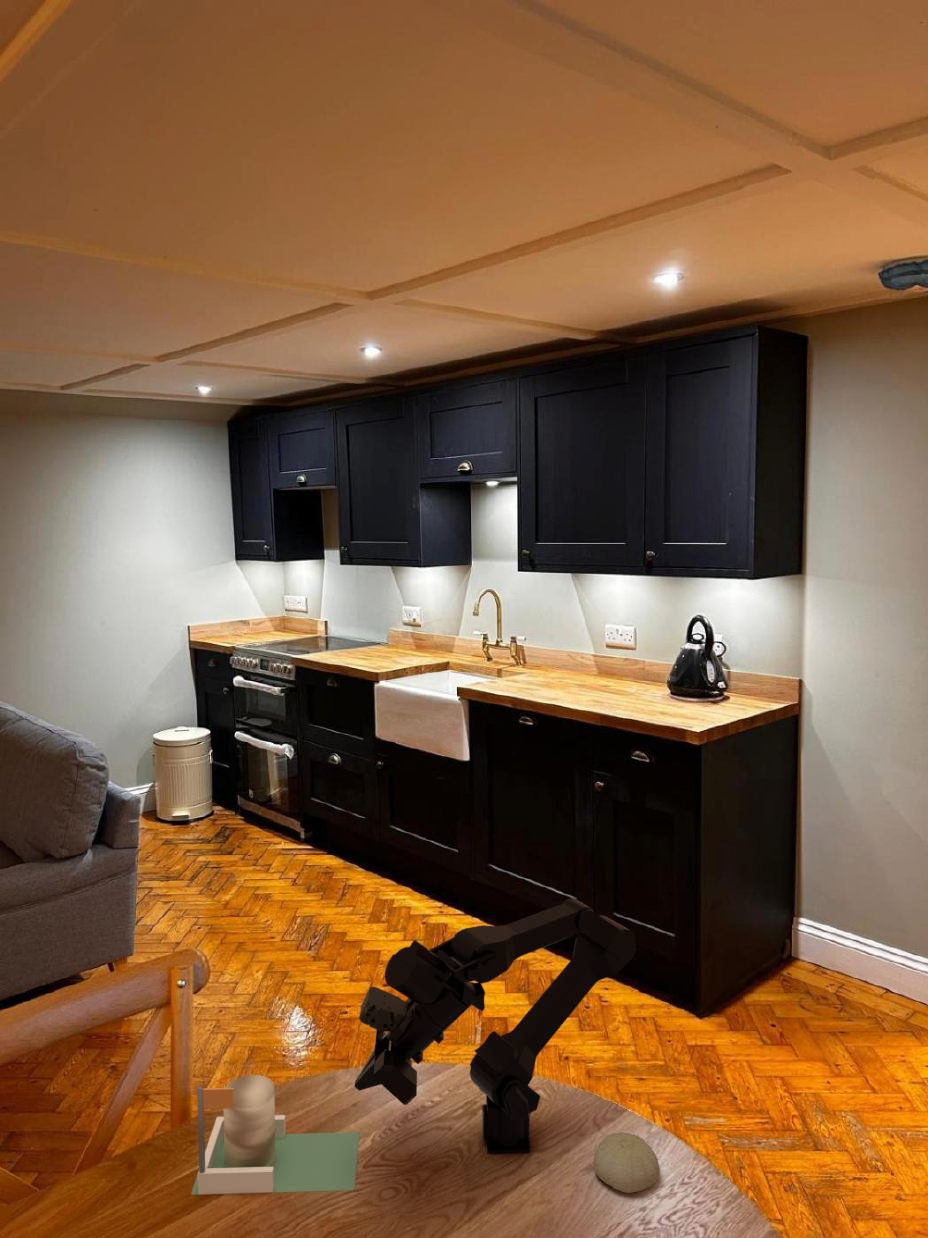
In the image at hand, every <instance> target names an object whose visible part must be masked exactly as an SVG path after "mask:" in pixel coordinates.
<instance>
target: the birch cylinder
mask: <svg viewBox="0 0 928 1238" xmlns="http://www.w3.org/2000/svg"><path fill="white" fill-rule="evenodd" d="M224 1088H234V1109H223V1117H224V1150H225V1168H242V1167H273V1166H274V1164H275V1115H276V1113H275V1110H276V1109H275V1106H276V1105H275V1084H274V1082H273V1080H272V1079H270V1078H269V1077H267V1076H264V1075H261V1074H260V1075H259V1074H250V1075H244V1076H240V1077H237V1078H235V1079H233V1080H231V1081H230V1082H229V1083H228V1084H226V1085H225V1087H224Z"/></svg>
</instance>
